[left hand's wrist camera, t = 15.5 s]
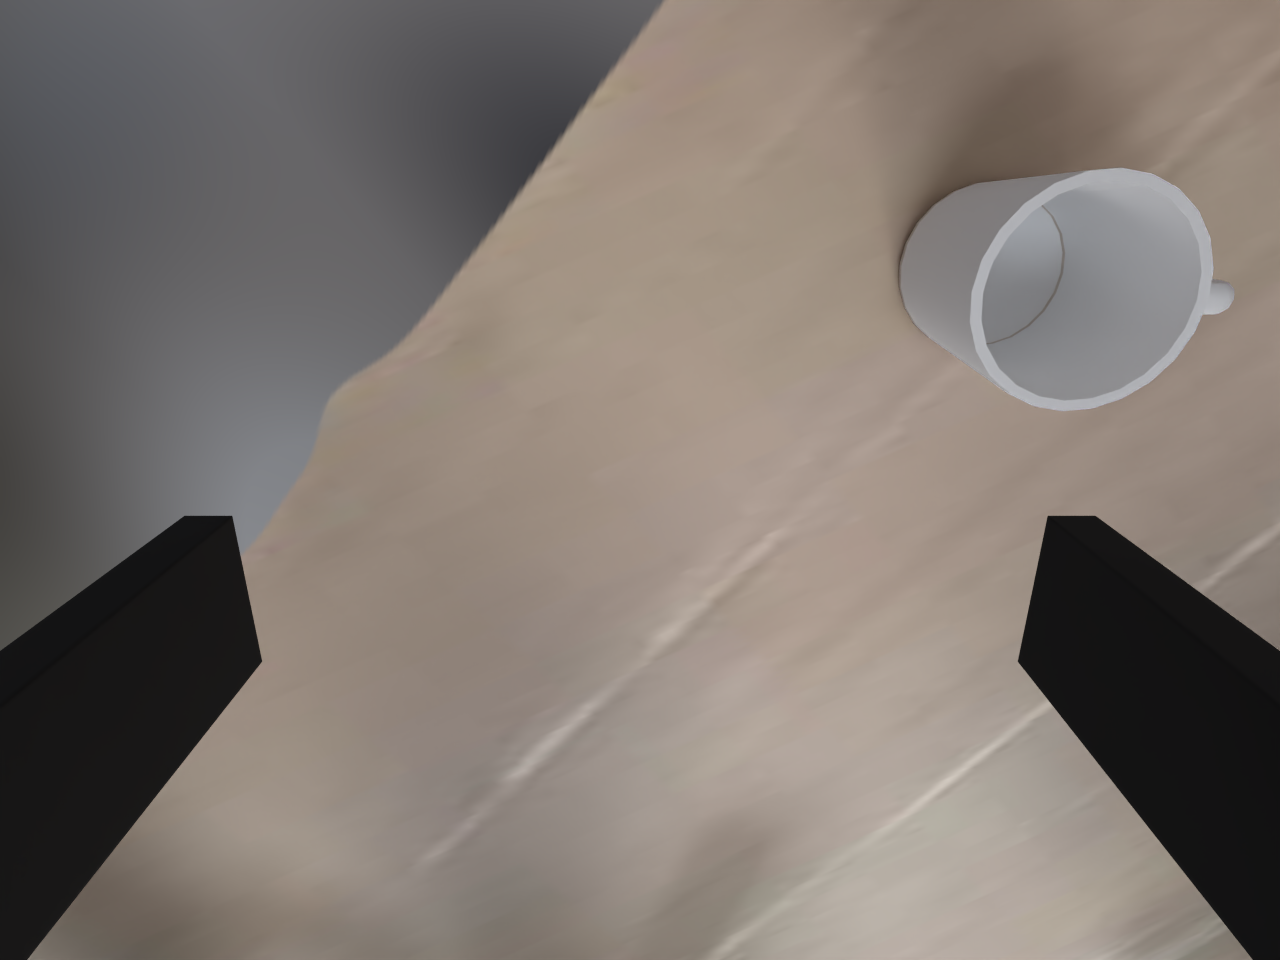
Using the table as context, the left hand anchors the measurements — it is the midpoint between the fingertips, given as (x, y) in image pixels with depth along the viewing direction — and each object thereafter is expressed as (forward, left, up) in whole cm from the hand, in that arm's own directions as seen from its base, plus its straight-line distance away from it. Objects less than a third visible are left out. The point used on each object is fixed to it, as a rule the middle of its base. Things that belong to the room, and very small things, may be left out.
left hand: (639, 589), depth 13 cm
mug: (-17, +7, -29) cm, 34 cm away
